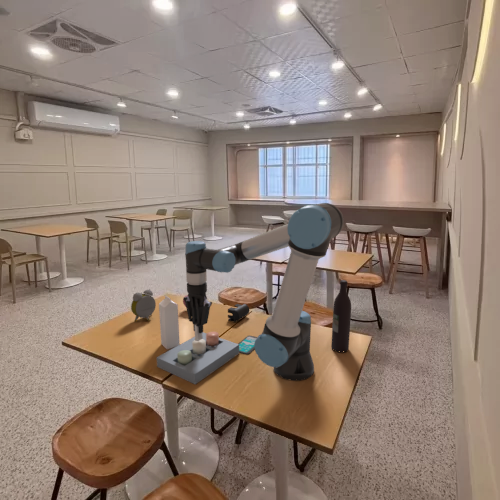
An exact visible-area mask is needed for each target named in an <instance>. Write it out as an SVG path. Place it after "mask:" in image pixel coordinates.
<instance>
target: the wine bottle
mask: <svg viewBox="0 0 500 500" xmlns="http://www.w3.org/2000/svg"><path fill="white" fill-rule="evenodd" d="M339 285H340V287H339V292H338V294H337V295H336V297H335V299H334V302H333V310H332V311H333V312H332V327H331V328H332V330H331V344H330V347H331V349H332V350H333V349H334V350H336V351H340V352H339V353H341V352H343V351H347V350H348V351H349V347H350V335H351V333H350V332H351V321H352V320H351V317H352V301H351V298H350V297H349V295H348V291H347V286H348V281H347V280H346V279H341V280H340V282H339ZM334 350H333V351H334ZM336 351H335V352H336ZM348 351H347V352H348ZM343 353H344V352H343Z"/></svg>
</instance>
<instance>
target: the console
mask: <svg viewBox="0 0 500 500" xmlns="http://www.w3.org/2000/svg"><path fill="white" fill-rule="evenodd" d="M207 333H208V332H207ZM207 333H206V332H204V331H203V332H202V338H203V339H204V340H205V341H206V334H207ZM194 340H195V336H193V337H191V338H190V339H188V340H186V341H184V342H182V343H181V344H180V345H178V346H176V347H173V348H170V349H168V350H166V352H164V353H161V354H160V355H159V356H156V367H157V368H159V369H161V370H163V371H165V372H168V373H170V374H171V375H175V376H176V377H177V378H178V377H179V378H180V379H183V380H185V381H187V382H188V383H191V384H193V385H197V384H198V383H200V382H201V381H202V380H203V379H206V378H207V377H208V376H210V375H211V374H212V373H214V372H215V371H217V370H218V369H219V368H220V367H222V366H224V365H225V364H227V363H228V362H229V361H231V360H232V359H234V358H235V357H236V356H238V355H239V354H240V353H239V344H238V343H236V342H233V341H231V340H227V339H225V338H222V337H219V344H218V345H217V346H208V345H207V344H206V352H205V353H204V354H201V355H196V354H194V353H193V346H192V342H193V341H194ZM183 350H189V351H191V353H192V362H190V363H188V364H187V365H185V366H184V365H181V364H179V363H178V356H177V354H178V352H180V351H183Z"/></svg>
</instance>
